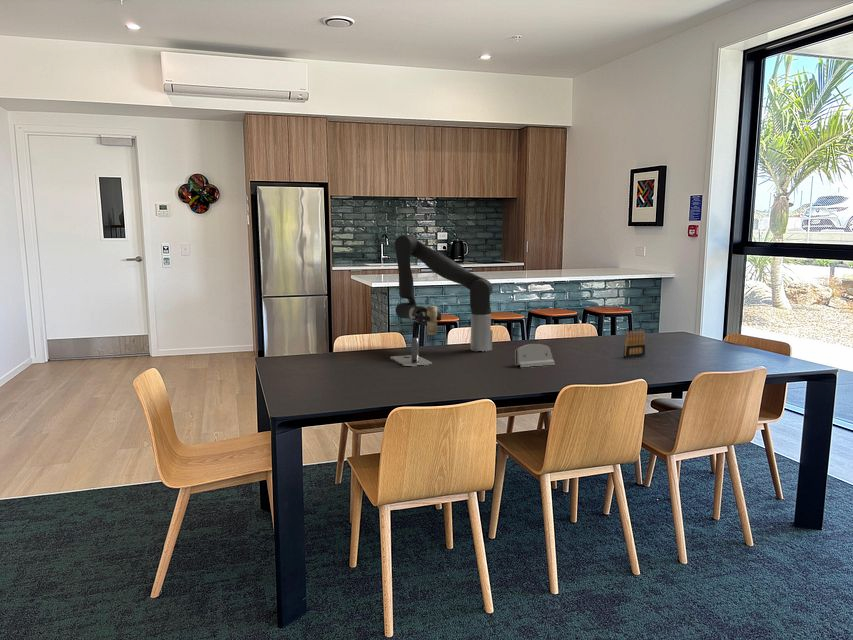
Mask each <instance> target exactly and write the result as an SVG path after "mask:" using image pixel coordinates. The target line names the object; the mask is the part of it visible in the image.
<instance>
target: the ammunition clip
mask: <svg viewBox="0 0 853 640" xmlns="http://www.w3.org/2000/svg"><path fill="white" fill-rule="evenodd" d="M645 339H646V338H645V330H644V329H643V328H642V330H641V329H639V331H638V329H636V331H635V329H633V331H632V330H630V331H629V330H627V331H626V333H625V340H624V346H623V356H625V357H624V358H626V357H627V358H631V357H630V356H638V357H641V356H640V355H645V356H646V344H645V343H646V342H645Z"/></svg>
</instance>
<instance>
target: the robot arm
mask: <svg viewBox="0 0 853 640" xmlns="http://www.w3.org/2000/svg"><path fill="white" fill-rule="evenodd" d="M394 251H395V255H396V261H397V262H396V263H397V271H398V296H399V298H401V299H407V300H408V302H401V303H398V304H397V305H396V307H395V314H396V316H397V318H399V319H406V320H407V319H408V320H412V321H414V322H415V323H420V324H427V321H428V322H430V316H427V306H422V305H417V302H416V298H415V292H414V289H415V288H414V284H415V283H414V277H413V272H412V269H411V257H414V258H415V259H418V260H419V261H421V262H422V263H423V264H424V265H425V266H426V267H427V268H428V269H429V270H431V272H433V273H435V274H436V275H438V276H439V277H441V278H444V279H446V280H448V281H450V282H453V283H456V284H459V285H462V286H463V287H465V288H466V289H468V290H469V307H470V351H473V352H478V351H482V352H484V351H485V352H490V351H493V330H492V329H491V328H492V308H491V295H492V293H493V285H492V283H491V282H490V281H489V280H488V279H486V278H484V277H481V276H479V275H477V274H474V273H473V272H471V271H469V270H468V269H466V268H464V267H463V266H462V265H461V264H459V263H457V262H456V261H454V260H453V259H451V258H450V257H448V256H446V255H445V254H443V253H441V252H438V251H437V250H434V249H432V248H430V247H428V246H427V245H426V244H424V243H423V242H421V241H420V240H419V239H417V238H416V237H414V236H413V235H411V234H402V235H399V236H397V237H396V238H395V240H394ZM441 320H442V314H441V312H438V311H437V322H441Z"/></svg>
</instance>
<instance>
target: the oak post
mask: <svg viewBox="0 0 853 640" xmlns="http://www.w3.org/2000/svg"><path fill="white" fill-rule="evenodd" d="M426 308H427V316H430V322H428V321H427V322H426V334H427V335H430V336H433V335H434V336H435V335H438V321H437V313H438V306H436V305H433V306H432V305H430V306H429V305H428V306H426Z"/></svg>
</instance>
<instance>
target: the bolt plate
mask: <svg viewBox="0 0 853 640" xmlns="http://www.w3.org/2000/svg"><path fill="white" fill-rule="evenodd" d="M419 341H420V339H419V337H411V346H410V347H411V354H407V355H395V356H394V355H393V356H390V358H391V359H393V360H395V361H396V362H395V361H394V362H395V363H397V362H398V363H397V364H399V363H400V364H402V365H403V367H404V366H412V367H418V366H417V365H424V366H430V365H429V364H432V365H433V362H432V361H430V360H427V359H425V358H424V357H422V356H419V355H420V354H419V352H420V351H419V350H420V348H419V345H420V344H419ZM391 359H390V360H391ZM393 360H392V361H393ZM400 364H399V365H400ZM402 365H401V366H402Z"/></svg>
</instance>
